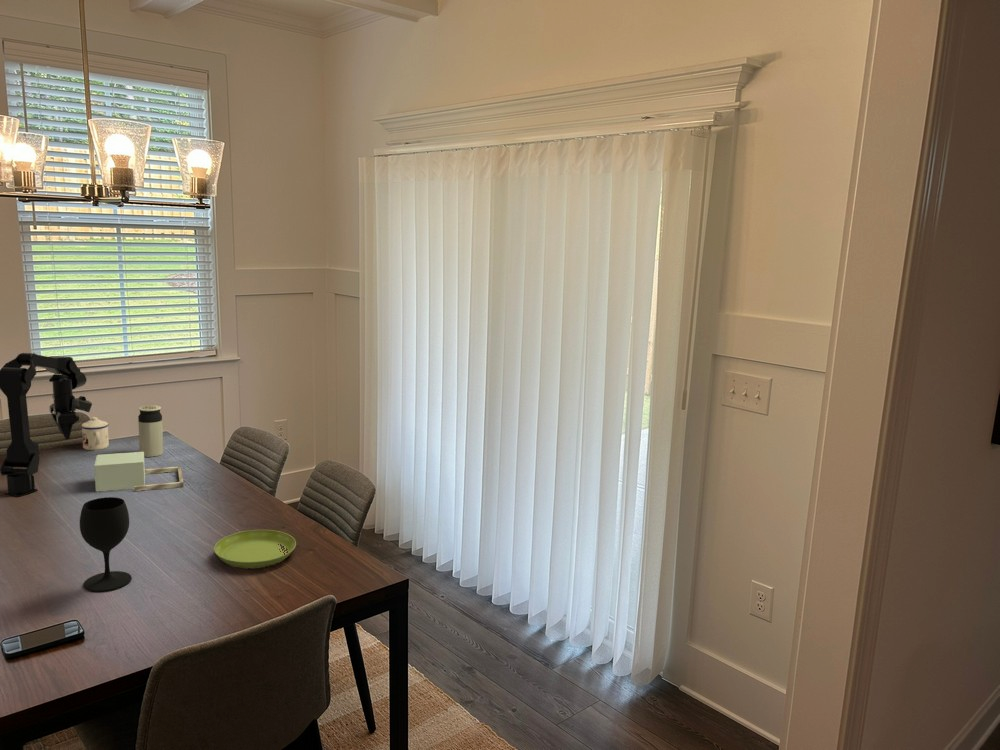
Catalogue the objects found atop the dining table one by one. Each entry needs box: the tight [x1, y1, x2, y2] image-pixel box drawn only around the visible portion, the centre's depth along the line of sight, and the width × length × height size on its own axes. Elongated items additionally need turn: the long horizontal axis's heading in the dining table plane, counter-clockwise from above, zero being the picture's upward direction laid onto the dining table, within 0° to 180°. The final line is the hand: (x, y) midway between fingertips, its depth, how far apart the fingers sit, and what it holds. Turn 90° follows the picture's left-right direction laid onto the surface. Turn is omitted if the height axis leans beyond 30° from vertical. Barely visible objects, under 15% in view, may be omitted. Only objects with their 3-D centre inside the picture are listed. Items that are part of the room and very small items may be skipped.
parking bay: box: [133, 465, 184, 492], centre depth 248 cm, size 14×18×2 cm
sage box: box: [94, 451, 146, 492], centre depth 242 cm, size 14×12×9 cm
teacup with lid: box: [80, 416, 110, 451], centre depth 278 cm, size 12×9×12 cm
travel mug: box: [137, 404, 164, 458], centre depth 273 cm, size 8×8×18 cm
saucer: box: [213, 529, 297, 569], centre depth 196 cm, size 21×21×3 cm
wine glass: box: [79, 496, 133, 593], centre depth 175 cm, size 10×10×20 cm
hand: (65, 436), depth 254 cm, fingers open, 7 cm apart
